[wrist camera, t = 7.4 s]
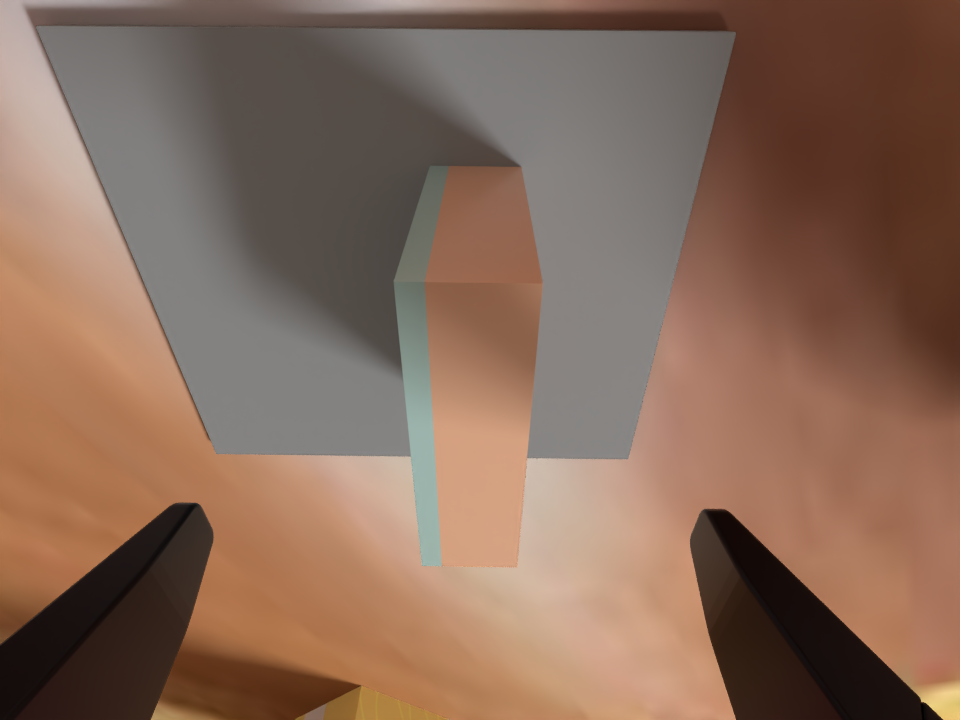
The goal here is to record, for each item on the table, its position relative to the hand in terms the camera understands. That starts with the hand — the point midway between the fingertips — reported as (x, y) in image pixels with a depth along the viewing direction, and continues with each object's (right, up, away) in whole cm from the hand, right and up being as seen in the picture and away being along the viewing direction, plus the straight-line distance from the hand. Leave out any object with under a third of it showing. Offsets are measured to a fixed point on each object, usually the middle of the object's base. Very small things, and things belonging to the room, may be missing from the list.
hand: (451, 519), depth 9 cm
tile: (0, +5, +7) cm, 8 cm away
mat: (-2, +5, +7) cm, 9 cm away
